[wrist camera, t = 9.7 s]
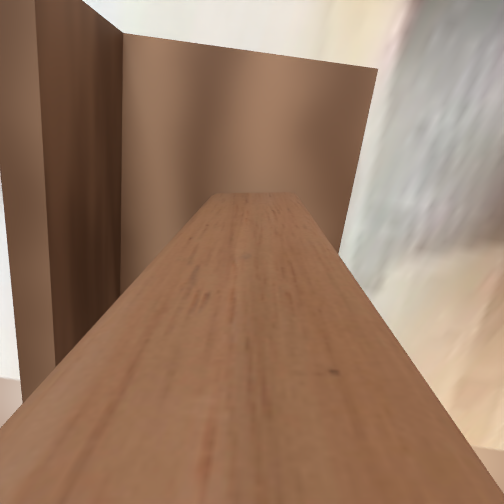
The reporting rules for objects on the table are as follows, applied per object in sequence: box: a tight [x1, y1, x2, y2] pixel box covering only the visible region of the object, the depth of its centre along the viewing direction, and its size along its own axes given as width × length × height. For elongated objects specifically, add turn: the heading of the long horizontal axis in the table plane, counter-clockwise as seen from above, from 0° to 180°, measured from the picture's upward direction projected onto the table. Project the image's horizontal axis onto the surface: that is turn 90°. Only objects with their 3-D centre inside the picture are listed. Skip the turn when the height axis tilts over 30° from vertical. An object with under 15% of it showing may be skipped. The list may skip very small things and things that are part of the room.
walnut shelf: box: [0, 0, 378, 403], centre depth 19 cm, size 14×22×12 cm, turn 173°
